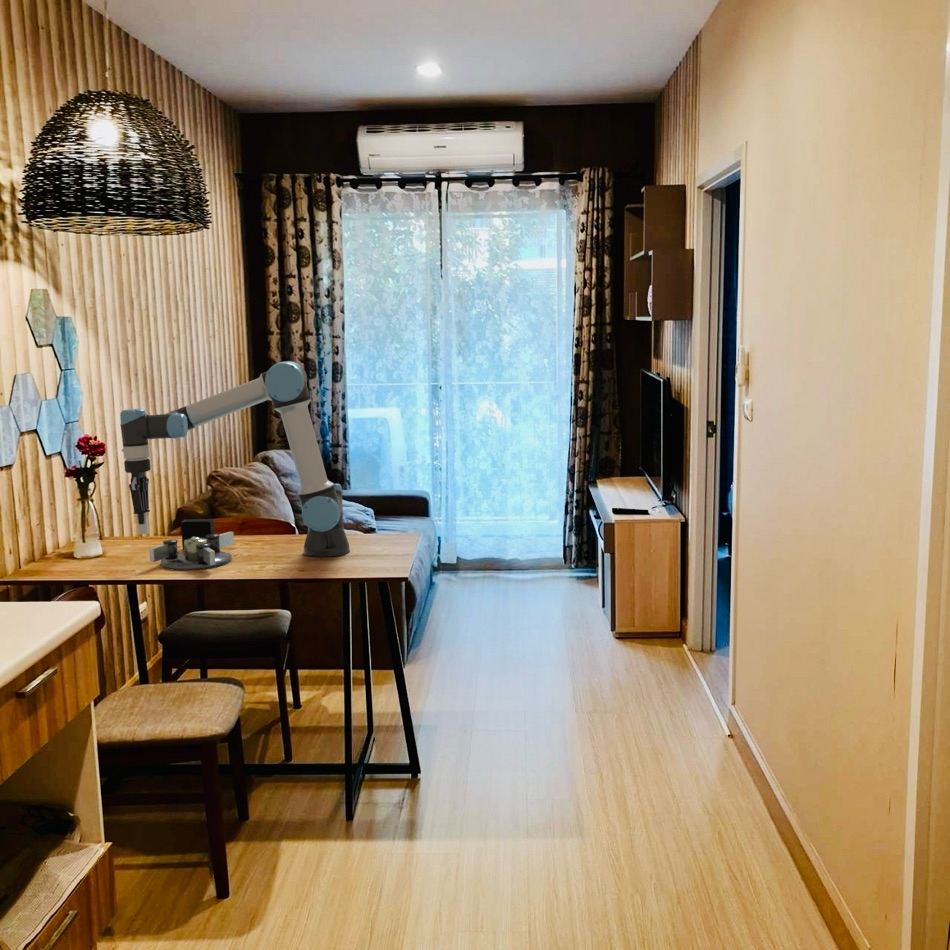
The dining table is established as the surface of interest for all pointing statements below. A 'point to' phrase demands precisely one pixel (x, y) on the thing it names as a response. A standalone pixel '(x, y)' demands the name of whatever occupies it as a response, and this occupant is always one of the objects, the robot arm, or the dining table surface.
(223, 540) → the knob
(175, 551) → the knob
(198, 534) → the electronic device
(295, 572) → the dining table surface
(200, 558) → the knob
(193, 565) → the tribrach
